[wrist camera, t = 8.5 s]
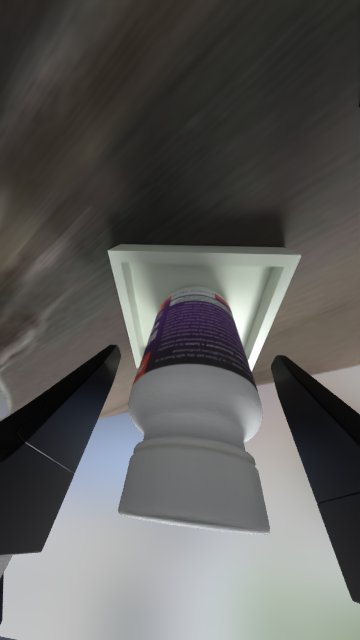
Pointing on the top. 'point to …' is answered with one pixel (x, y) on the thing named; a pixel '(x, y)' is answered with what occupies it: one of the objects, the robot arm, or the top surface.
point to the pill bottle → (195, 421)
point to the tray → (202, 285)
